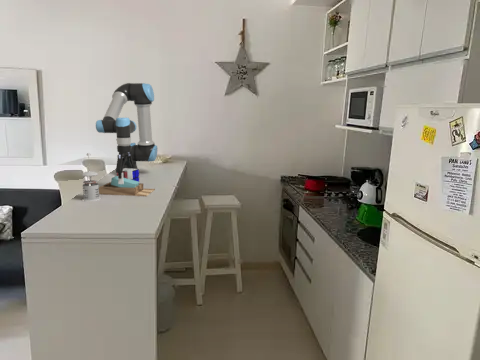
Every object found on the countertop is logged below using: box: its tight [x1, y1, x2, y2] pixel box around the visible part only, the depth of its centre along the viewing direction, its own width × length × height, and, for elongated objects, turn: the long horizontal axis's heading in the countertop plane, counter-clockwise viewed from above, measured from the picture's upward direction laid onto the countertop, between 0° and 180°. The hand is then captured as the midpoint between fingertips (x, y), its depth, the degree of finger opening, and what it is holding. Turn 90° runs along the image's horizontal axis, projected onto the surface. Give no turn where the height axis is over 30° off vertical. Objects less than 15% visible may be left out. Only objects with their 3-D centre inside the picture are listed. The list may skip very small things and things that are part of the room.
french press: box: [81, 152, 102, 202], centre depth 188 cm, size 10×12×25 cm
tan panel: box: [135, 188, 156, 197], centre depth 206 cm, size 16×6×1 cm, turn 176°
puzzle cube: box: [116, 168, 140, 183], centre depth 224 cm, size 10×10×10 cm
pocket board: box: [98, 181, 144, 197], centre depth 207 cm, size 15×21×4 cm
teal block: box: [110, 175, 140, 188], centre depth 206 cm, size 6×14×4 cm, turn 87°
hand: (125, 181), depth 206 cm, fingers open, 13 cm apart
